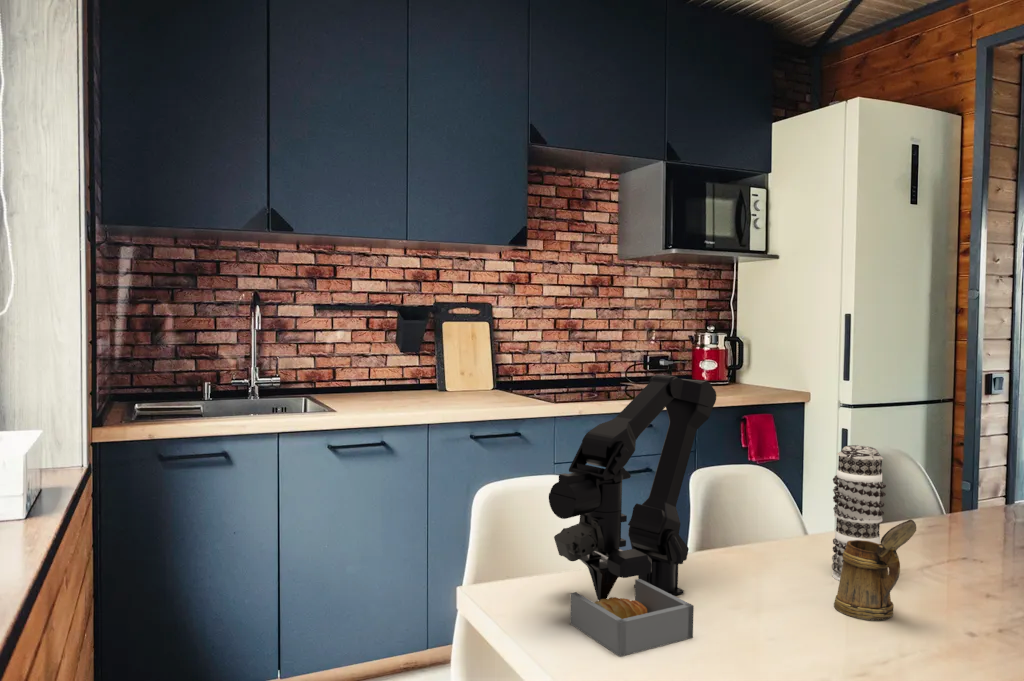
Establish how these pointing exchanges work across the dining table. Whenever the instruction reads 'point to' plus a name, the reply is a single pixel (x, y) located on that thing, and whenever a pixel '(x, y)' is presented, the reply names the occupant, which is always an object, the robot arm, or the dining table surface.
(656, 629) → the box
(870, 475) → the decorative candle
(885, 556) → the wooden mug
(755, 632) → the dining table surface
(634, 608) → the pastry
